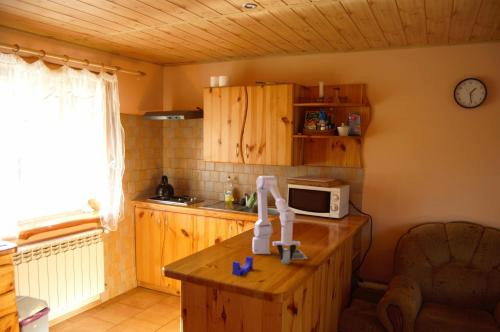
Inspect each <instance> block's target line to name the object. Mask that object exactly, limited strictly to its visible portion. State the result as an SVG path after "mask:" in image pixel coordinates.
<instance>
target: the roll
mask: <svg viewBox="0 0 500 332" xmlns="http://www.w3.org/2000/svg"><path fill="white" fill-rule="evenodd" d="M290 263H291V260H290V248H283V252H282V260H281V264H284V265H289V264H290Z"/></svg>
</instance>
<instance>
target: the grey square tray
mask: <svg viewBox="0 0 500 332" xmlns="http://www.w3.org/2000/svg"><path fill="white" fill-rule="evenodd" d="M304 259H307V260H309V258H308V257H307V256H306V254H304V252H303V251H302V250H300V249H296V250H295V251H294V253H293V256H292V260H293V261H294V260H295V261H297V260H303V261H304Z"/></svg>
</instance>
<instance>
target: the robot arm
mask: <svg viewBox="0 0 500 332" xmlns="http://www.w3.org/2000/svg"><path fill="white" fill-rule="evenodd" d="M255 182H256V191H257V212H258V213H257V216H258V217H257V218H258V220H256V222H255V223H254V227H253V235H254V236H253V237H252V243H251V245H252V246H251V248H252V250H251V251H252V253H253V254H254V255H271V252H270V237H271V236H272V234H273V233H274V232H273V226H272V222H271V221H270V220H269V218H268V217H269V216H268V215H269V214H268V195H267V194H268V191H269V192H270V193H271V196H272V197H273V198H274V199H275V206H276V208H277V211H278V213H279V220H280V225H281V231H280V233H281V234H280V236H281V237H280V240H277V241H272V246H273V247H276V248H277V251H278V254H279V259H280V260H281V261H282V252H283V249H284V248H283V247H285V246H286V247H289V249H290V261H291V260H292V256H293V253H294V251H295V250H297V246H298V247H301V241H296V240H293V225H294V224H293V223H294V221H295V220H296V213H295V211H294V210H292V209H291V208H290V207H289V205H288V202H287V201H286V199H284V198H282V195H281V193H280V190H279V188H278V185H277V184H278V179H277V178H276V176H275V175H259V176H257V178H256V181H255Z"/></svg>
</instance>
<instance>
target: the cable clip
mask: <svg viewBox="0 0 500 332" xmlns="http://www.w3.org/2000/svg"><path fill="white" fill-rule="evenodd" d="M240 263H241V262H239V261H232V275H234V276H239V277H241V276H243V275H247V274H248V272H249V271H251V270H253V268H254V265H253V264H254V257H252V256H246V257H245V262H244V264H243V266H241V264H240Z"/></svg>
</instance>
